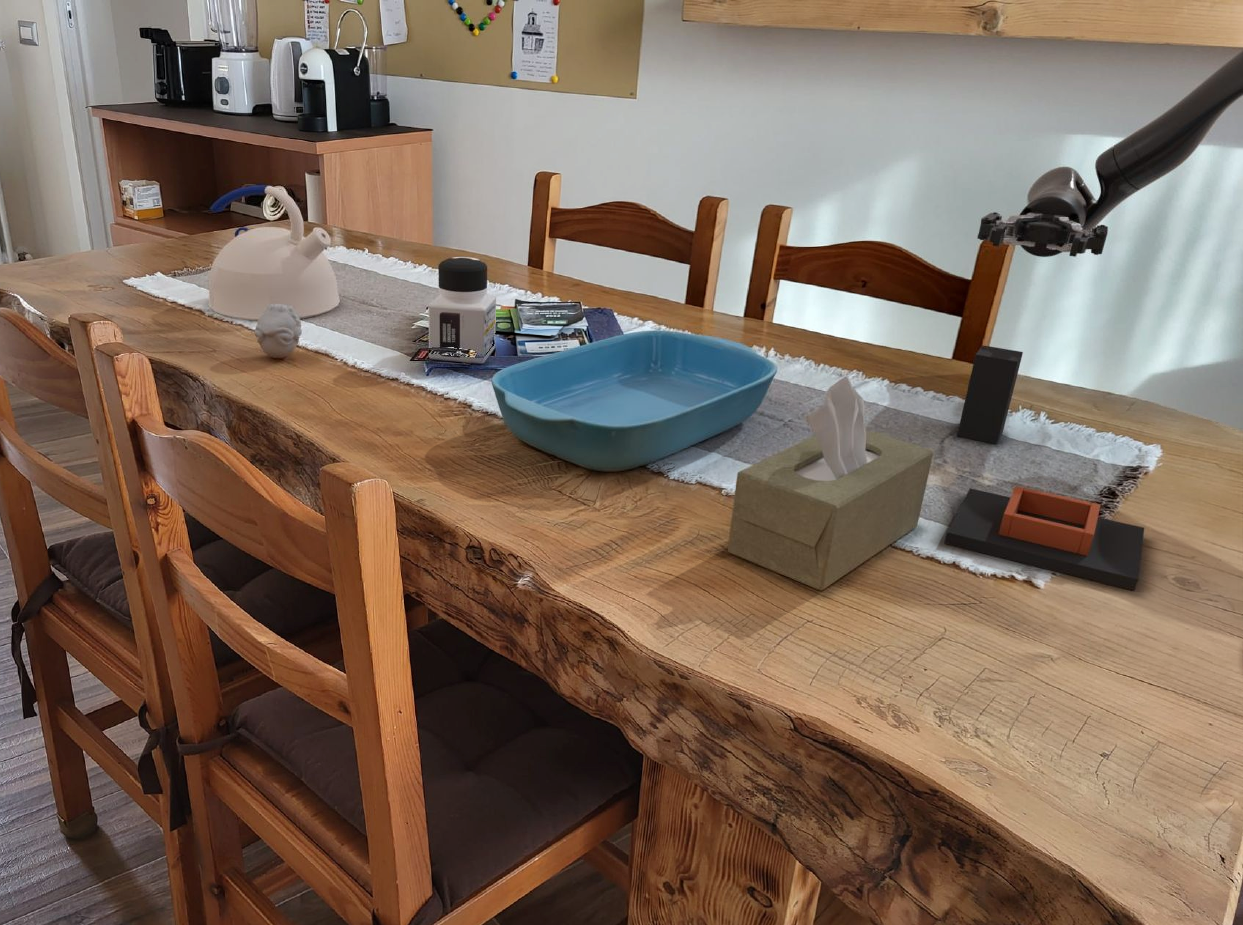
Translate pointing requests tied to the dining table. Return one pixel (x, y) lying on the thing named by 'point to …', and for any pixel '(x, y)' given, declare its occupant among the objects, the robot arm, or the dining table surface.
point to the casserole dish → (632, 396)
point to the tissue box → (829, 496)
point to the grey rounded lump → (278, 330)
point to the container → (462, 310)
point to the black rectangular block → (989, 394)
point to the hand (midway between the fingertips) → (1035, 242)
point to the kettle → (272, 266)
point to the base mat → (1049, 535)
